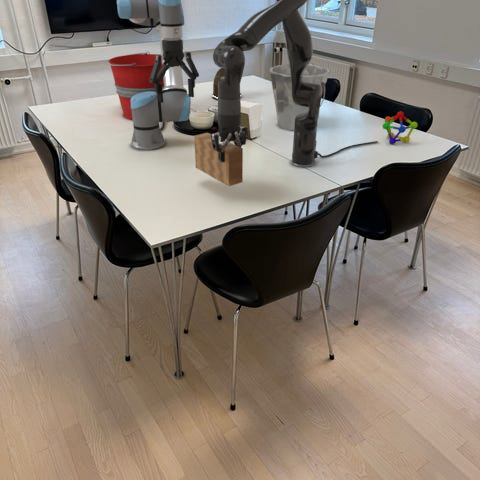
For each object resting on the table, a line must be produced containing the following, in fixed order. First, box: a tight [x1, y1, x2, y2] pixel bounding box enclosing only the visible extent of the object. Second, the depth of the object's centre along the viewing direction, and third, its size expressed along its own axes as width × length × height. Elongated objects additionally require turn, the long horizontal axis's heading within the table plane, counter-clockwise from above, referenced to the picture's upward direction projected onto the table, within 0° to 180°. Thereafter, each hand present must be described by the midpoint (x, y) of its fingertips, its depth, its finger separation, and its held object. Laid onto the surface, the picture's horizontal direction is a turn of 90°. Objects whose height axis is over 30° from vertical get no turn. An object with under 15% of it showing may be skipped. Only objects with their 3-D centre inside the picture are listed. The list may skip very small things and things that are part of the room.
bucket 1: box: [105, 51, 164, 121], centre depth 241 cm, size 35×35×30 cm
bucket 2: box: [269, 64, 330, 131], centre depth 226 cm, size 30×30×28 cm
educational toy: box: [382, 110, 418, 145], centre depth 207 cm, size 16×13×15 cm
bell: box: [212, 67, 242, 97], centre depth 278 cm, size 19×26×20 cm
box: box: [193, 132, 244, 187], centre depth 159 cm, size 21×6×12 cm, turn 38°
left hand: (176, 99), depth 170 cm, fingers open, 13 cm apart
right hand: (229, 159), depth 153 cm, fingers closed on box, 6 cm apart
